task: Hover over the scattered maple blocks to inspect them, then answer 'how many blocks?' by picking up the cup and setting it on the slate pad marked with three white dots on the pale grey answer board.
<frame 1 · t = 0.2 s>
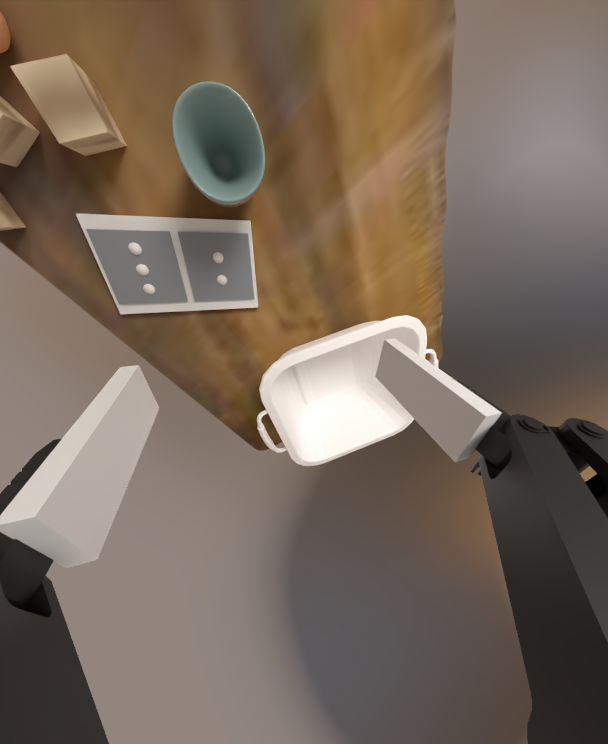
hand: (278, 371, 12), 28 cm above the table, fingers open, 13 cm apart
answer board: (184, 268, 32), on the table
block a: (90, 121, 23), on the table
cup: (225, 171, 27), on the table
baking dish: (328, 369, 49), on the table
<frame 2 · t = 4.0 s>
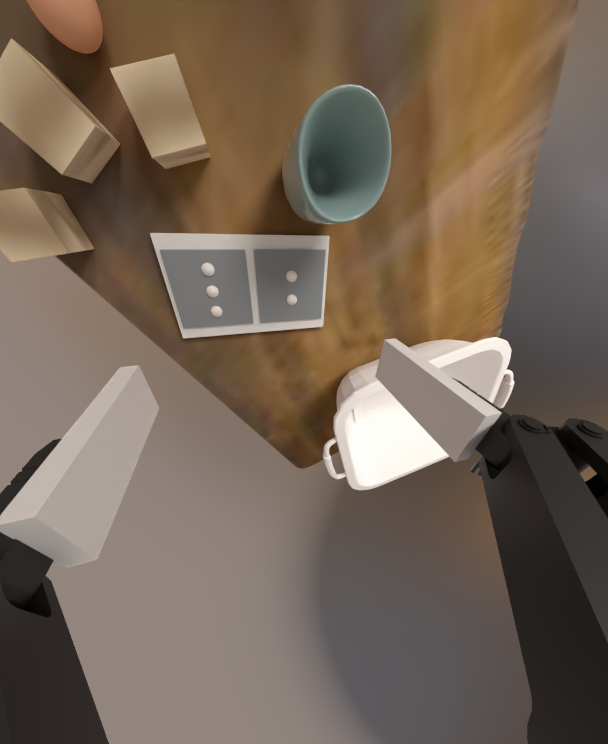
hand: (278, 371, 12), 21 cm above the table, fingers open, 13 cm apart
answer board: (253, 287, 29), on the table
block c: (77, 135, 19), on the table
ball: (79, 22, 16), on the table
block a: (175, 130, 20), on the table
cup: (309, 183, 25), on the table
baking dish: (380, 385, 46), on the table
block b: (17, 227, 18), point 4 cm above the table, tilted 180°
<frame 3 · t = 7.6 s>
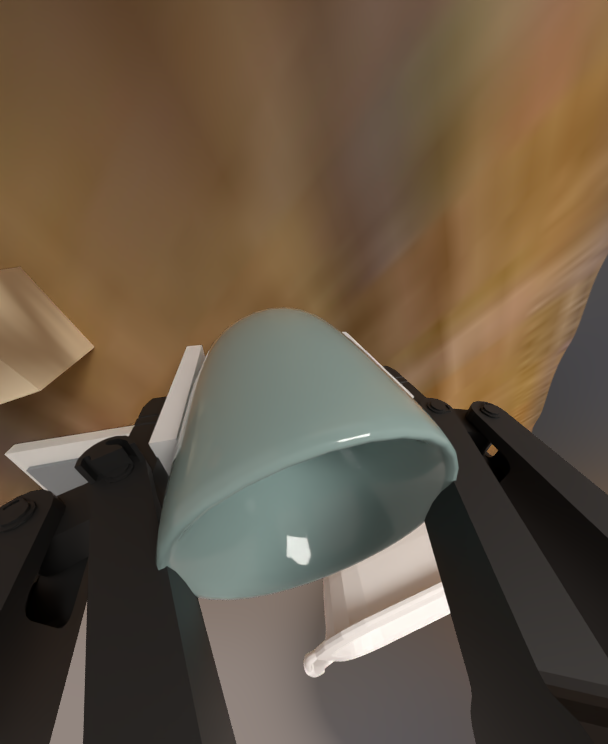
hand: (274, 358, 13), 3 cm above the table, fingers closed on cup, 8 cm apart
answer board: (196, 465, 20), on the table
block a: (18, 324, 11), on the table
cup: (272, 352, 14), point 2 cm above the table, touching gripper
baking dish: (381, 507, 37), on the table
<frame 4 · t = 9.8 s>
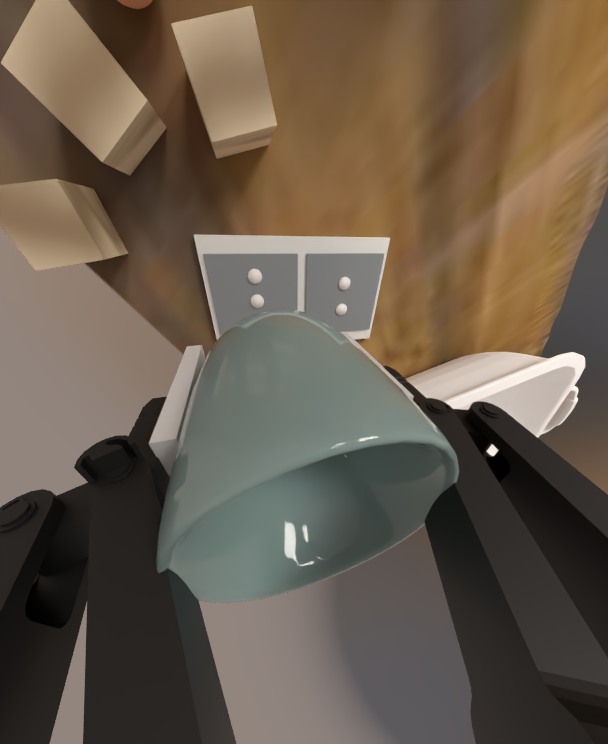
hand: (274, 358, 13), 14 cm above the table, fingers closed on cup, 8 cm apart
answer board: (299, 296, 25), on the table
block c: (116, 116, 15), on the table
block a: (231, 111, 17), on the table
cup: (272, 353, 14), point 13 cm above the table, touching gripper
baking dish: (417, 398, 43), on the table
block b: (45, 228, 14), point 4 cm above the table, tilted 180°
when the fingers open (2 cm above the table, at t = 12.2 s): cup stays where it is, resting on answer board.
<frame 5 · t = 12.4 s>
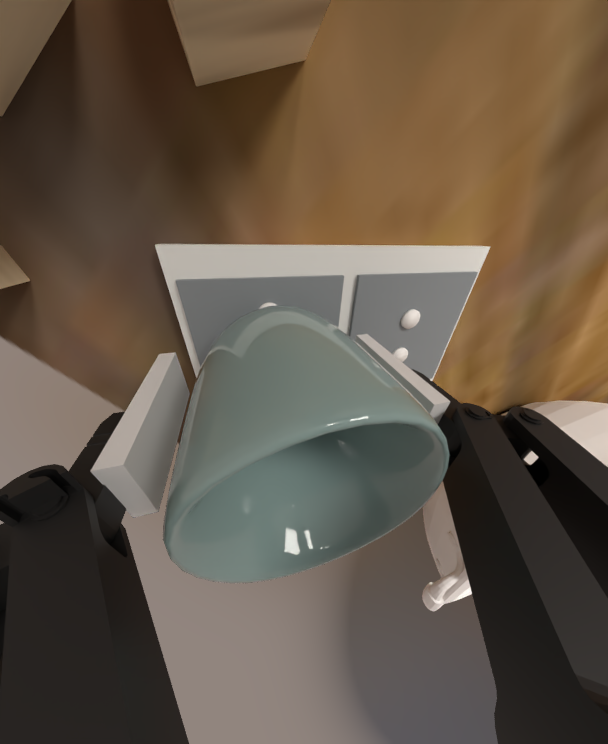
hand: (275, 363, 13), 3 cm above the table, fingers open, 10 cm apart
answer board: (336, 337, 16), on the table
cup: (272, 349, 14), point 1 cm above the table, touching answer board
baking dish: (469, 447, 34), on the table
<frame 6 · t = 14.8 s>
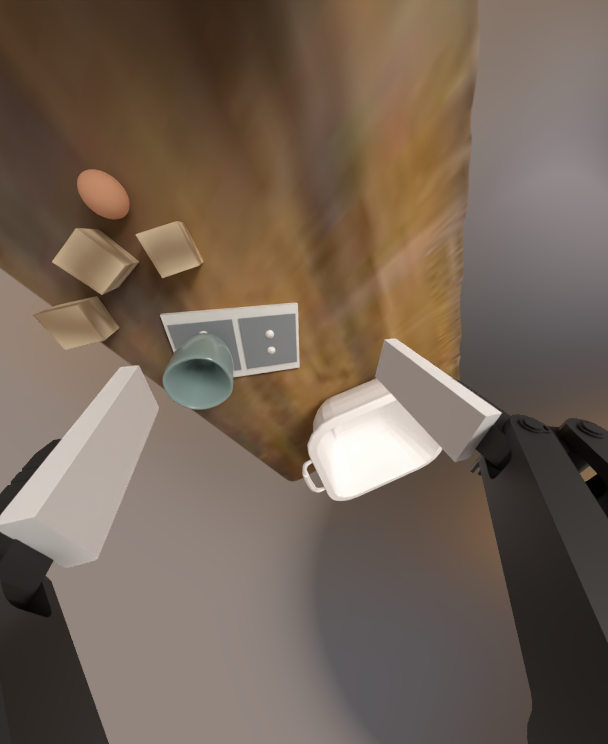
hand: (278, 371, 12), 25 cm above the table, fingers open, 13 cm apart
answer board: (240, 343, 36), on the table
block c: (109, 259, 27), on the table
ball: (113, 198, 24), on the table
block a: (177, 248, 28), on the table
cup: (208, 349, 34), point 1 cm above the table, touching answer board
baking dish: (356, 408, 53), on the table
block b: (70, 328, 26), point 4 cm above the table, tilted 180°
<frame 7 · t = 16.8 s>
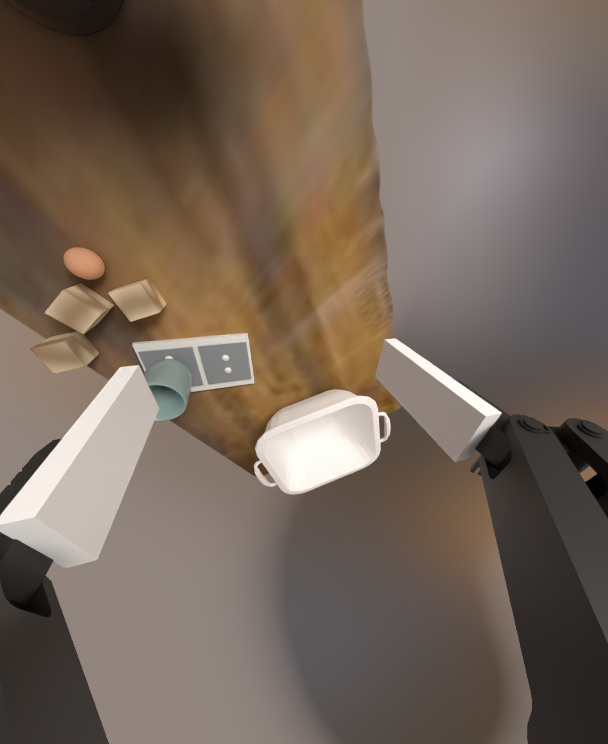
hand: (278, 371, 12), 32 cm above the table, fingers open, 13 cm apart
answer board: (201, 364, 44), on the table
block c: (90, 304, 34), on the table
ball: (92, 262, 32), on the table
block a: (145, 295, 36), on the table
cup: (173, 369, 42), point 1 cm above the table, touching answer board
baking dish: (311, 416, 62), on the table
block b: (59, 358, 33), point 4 cm above the table, tilted 180°
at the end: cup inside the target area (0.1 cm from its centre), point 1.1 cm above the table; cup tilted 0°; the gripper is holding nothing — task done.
